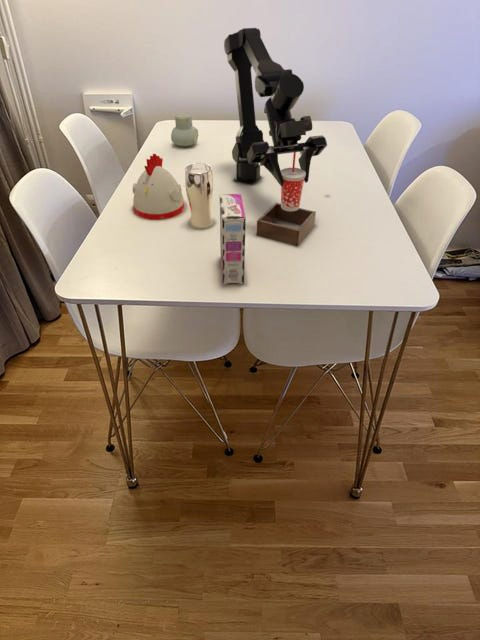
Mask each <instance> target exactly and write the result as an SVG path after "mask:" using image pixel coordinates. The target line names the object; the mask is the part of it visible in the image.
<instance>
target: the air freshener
mask: <svg viewBox="0 0 480 640" xmlns="http://www.w3.org/2000/svg"><path fill="white" fill-rule="evenodd" d="M174 120H175V121H174V123H175V127H173V128H172V130H171V133H170V140H171V142H172V144H175V145H176V146H178V147H191V146H193V145H196V144H197V142H198V139H199V130H198V129H197V128H196V127H195V126H193V116H192V114H191V113H188V112H180V113H176V114H175V116H174Z"/></svg>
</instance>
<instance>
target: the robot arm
mask: <svg viewBox="0 0 480 640" xmlns="http://www.w3.org/2000/svg"><path fill="white" fill-rule="evenodd" d="M223 50H224V53H225V55H226V59H227V64H228V65H229V66H230V67H231V69H232V70H233V72H234V81H235V89H236V90H235V92H236V100H237V101H236V102H237V109H238V119H239V128H238V130H237V133H236V135H235V143H234V146H233V148H232V150H231V157H232V159H233V161H234V162H235V165H236V168H235V169H236V170H235V171H236V176H235V177H234V178H233V181H235V182H239V183H243V184H247V185H248V184H249V185H254V184H255V183H256V182H258V180H260V179H261V178H262V175H261V167H264V168H265V169H266V170H267V171H268V172H269V173H270V174H271V176H273V178H274V179H275V181H276V182H277V183H278V185H279V186H280V187H281V186H283V184H284V183H283V177H282V174H281V170H282V169H281V168H280V164H279V163H280V162H279V155H285V154H292V153H293V154H294V151H296V153H299V154H300V155H299V156H300V157H299V158H298V160H297V161H298V164H299V167H300V168H299V169H302V170H304V171H305V172H306V175H305V178H304V183H308V182H309V176H310V170H311V169H310V167H311V161H312V157H317V156H319V155H320V154H322V152H323V151H324V150H325V148H326V147H328V142H327V138H326V137H325V136H324V135H323V134H321V135H311V136H308V138H307V139H306V141H305V142H300V141H301V139H302V136H306V135H307V132H310V131H311V132H312V131H313V120H312V118H311V115H305V116H302V117H300V120H296V118H293V116H292V112H291V110H292V109H293V108H294V107H295V106H296V104H297V102H298V101H299V99H300V97H301V96H302V95H303V92H304V89H305V85H304V82H303V80H302V79H301V78H300V77H299V76H298V75H296V74H294V73H293V70H292V68H288V69H284V67H283V66H282V64H280V63H278V62H277V61H274V60H273V59H272V57H271V55H270V52H269V51H268V48H267V47H266V45H265V42H264V41H263V38H262V35H261V30H260V28H257V27H243V28H241V29H238V31H236V32H234V33H230V34H228V35H227V36H226V38H225V39H224V42H223ZM252 68H253V71H254V73H255V79H254V88H253V78H252ZM254 89H255V92H256V93H257V94H258V97H260V98H267V97H268V98H267V100H266V102H265V104H264V108H263V113H264V114H266V118H267V122H268V128H269V131H268V135H269V137H271V140H272V145H270V144H269V142H268V141H265V140H264V132H263V130H262V129H260V128H259V127H258V124H257V121H256V113H255V112H256V110H255V100H254V98H255V97H254Z"/></svg>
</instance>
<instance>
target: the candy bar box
mask: <svg viewBox="0 0 480 640" xmlns="http://www.w3.org/2000/svg"><path fill="white" fill-rule="evenodd" d="M246 221H247V216H246V212H245V208H244V202H243V197H242V194H241V193H229V194H228V193H227V194H219V241H220V242H219V243H220V246H219V247H220V265H221V276H222V285H224V286H231V285H245V260H246V259H245V256H246Z"/></svg>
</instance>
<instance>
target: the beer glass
mask: <svg viewBox="0 0 480 640" xmlns="http://www.w3.org/2000/svg"><path fill="white" fill-rule="evenodd" d="M213 177H214V176H213V168H212V166H211V165H210V164H208V163H204V162H197V163H190V164H188V165H186V166H185V168H184V183H185V185H184V186H185V192H186V197H187V201H188V204H189V208H190V209H189V210H190V220H189V224H190V226H191V227H192V228H194V229H201V230H202V229H207V228H209V227H211V226H213V223H214V220H213V216H212V202H213V195H214V178H213Z"/></svg>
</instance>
